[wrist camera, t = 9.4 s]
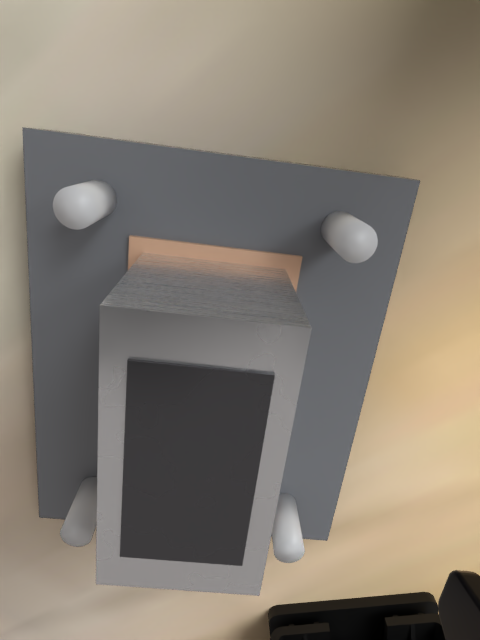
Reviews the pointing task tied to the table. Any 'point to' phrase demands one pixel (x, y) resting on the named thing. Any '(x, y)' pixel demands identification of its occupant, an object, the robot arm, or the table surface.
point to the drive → (194, 421)
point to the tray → (216, 245)
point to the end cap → (359, 619)
